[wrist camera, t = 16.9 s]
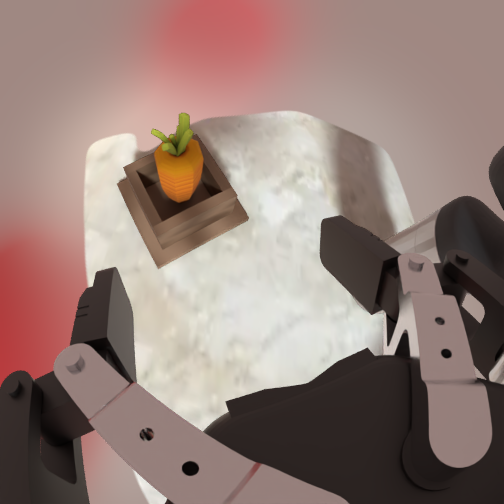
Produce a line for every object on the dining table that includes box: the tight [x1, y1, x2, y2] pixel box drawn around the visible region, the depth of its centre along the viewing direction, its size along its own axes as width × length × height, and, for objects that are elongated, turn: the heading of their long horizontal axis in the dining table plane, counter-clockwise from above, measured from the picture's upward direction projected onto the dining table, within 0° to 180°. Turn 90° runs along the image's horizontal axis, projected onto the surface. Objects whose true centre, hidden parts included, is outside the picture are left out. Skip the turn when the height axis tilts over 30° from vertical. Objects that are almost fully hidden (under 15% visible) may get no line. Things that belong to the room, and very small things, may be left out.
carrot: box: [151, 113, 204, 203], centre depth 29 cm, size 5×5×15 cm
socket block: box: [117, 134, 249, 269], centre depth 34 cm, size 13×13×6 cm
